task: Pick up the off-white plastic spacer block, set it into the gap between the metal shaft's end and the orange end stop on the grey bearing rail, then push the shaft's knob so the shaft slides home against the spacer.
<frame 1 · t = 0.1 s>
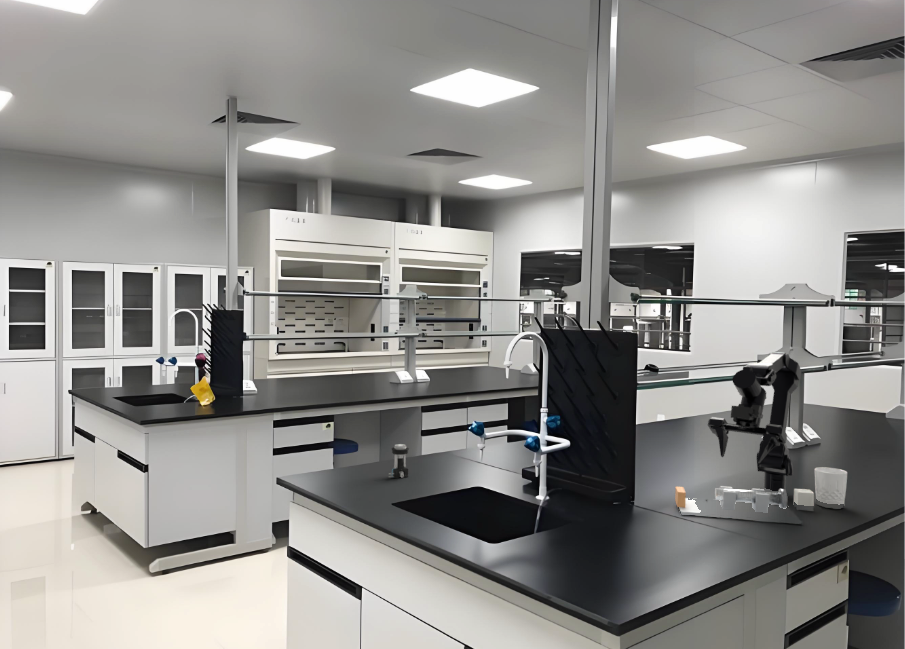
hand: (739, 459, 174), 15 cm above the counter, tool tilted 35°, fingers open, 9 cm apart
white cup: (829, 507, 185), on the counter
spacer: (803, 509, 182), on the counter
shaft: (750, 496, 177), point 5 cm above the counter, slide at 0.0 cm
push button: (397, 477, 209), on the counter
bearing rail: (735, 512, 178), on the counter
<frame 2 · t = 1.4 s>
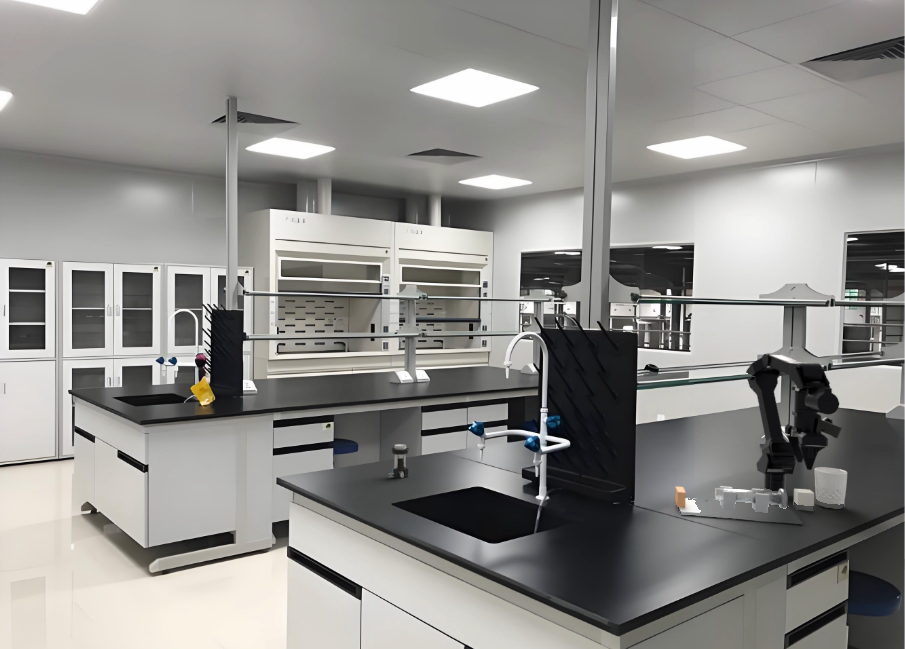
hand: (804, 465, 182), 12 cm above the counter, tool pointing down, fingers open, 9 cm apart
nothing on the counter moved.
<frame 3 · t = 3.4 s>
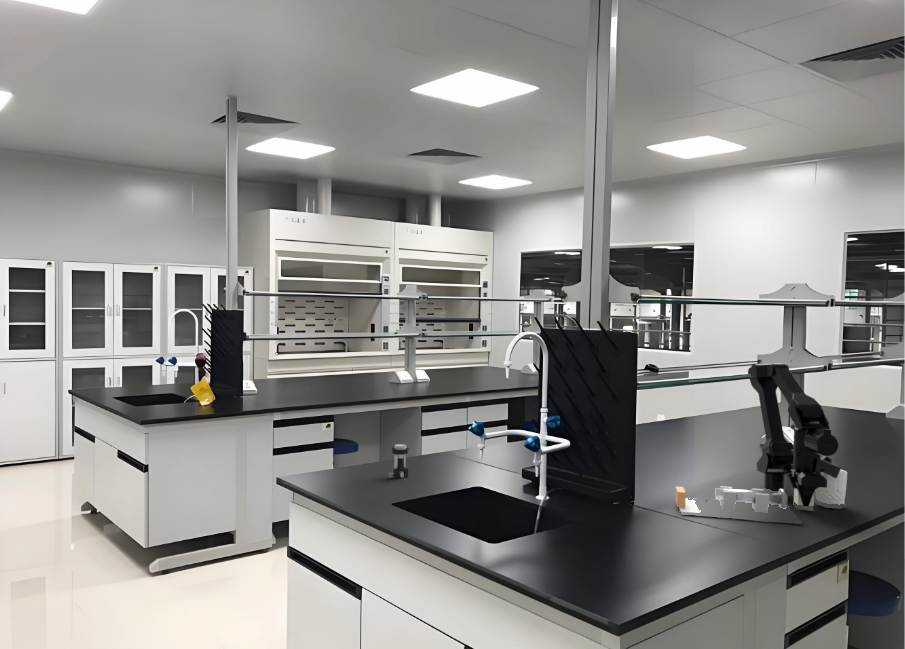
hand: (803, 505, 182), 1 cm above the counter, tool pointing down, fingers closed on spacer, 4 cm apart
spacer: (803, 508, 182), on the counter, touching gripper
everything else where it was.
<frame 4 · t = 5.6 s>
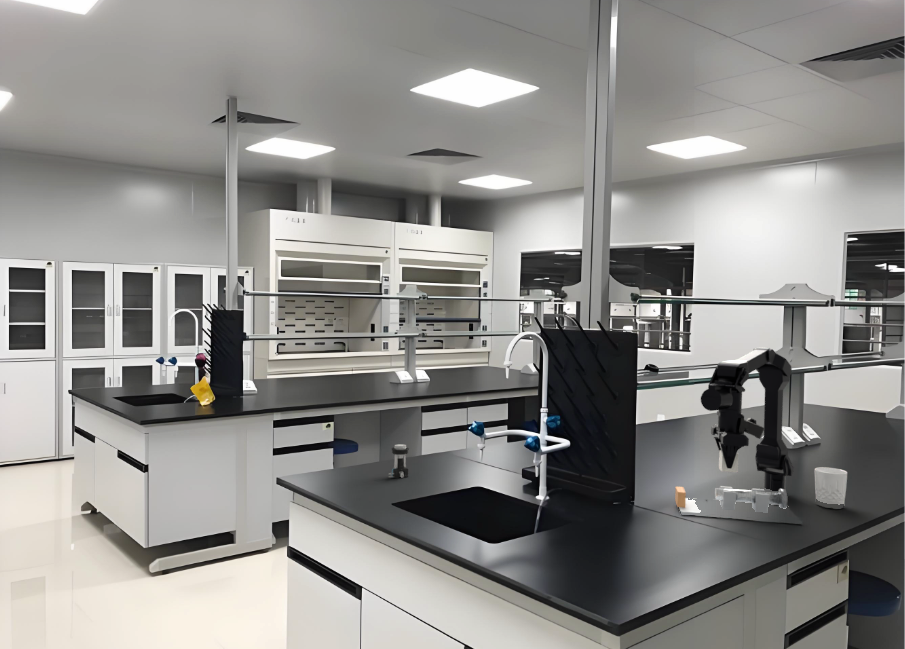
hand: (727, 466, 180), 12 cm above the counter, tool pointing down, fingers closed on spacer, 4 cm apart
spacer: (728, 470, 180), point 11 cm above the counter, touching gripper
everything else where it was.
when the fingers open (4 cm above the counter, at t = 8.1 s): spacer drops 2 cm, resting on bearing rail.
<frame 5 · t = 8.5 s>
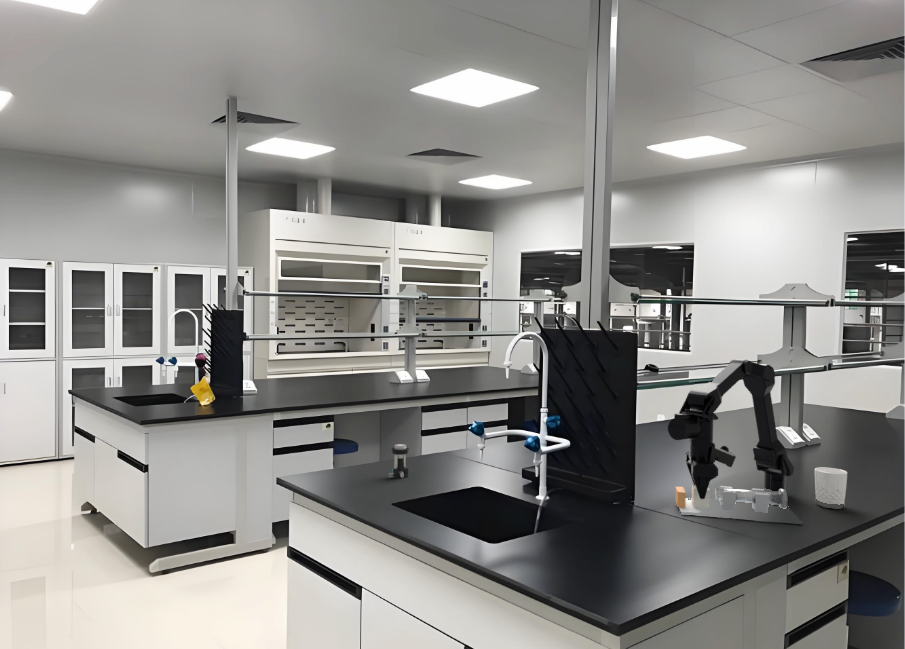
hand: (700, 494, 180), 4 cm above the counter, tool pointing down, fingers open, 8 cm apart
spacer: (700, 505, 180), point 1 cm above the counter, touching bearing rail
everything else where it was.
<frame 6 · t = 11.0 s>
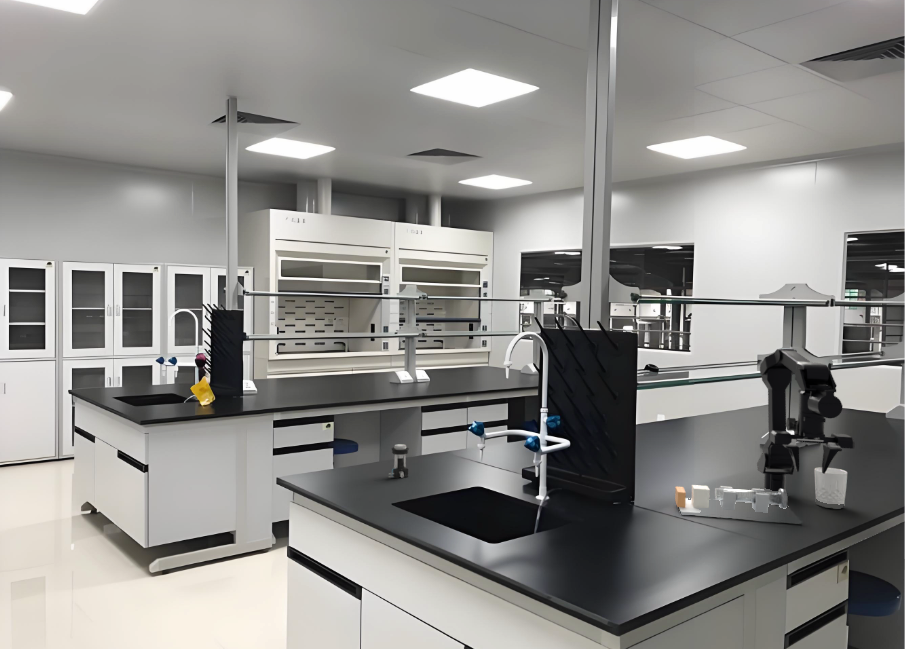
hand: (810, 472, 174), 12 cm above the counter, tool pointing down, fingers open, 6 cm apart
nothing on the counter moved.
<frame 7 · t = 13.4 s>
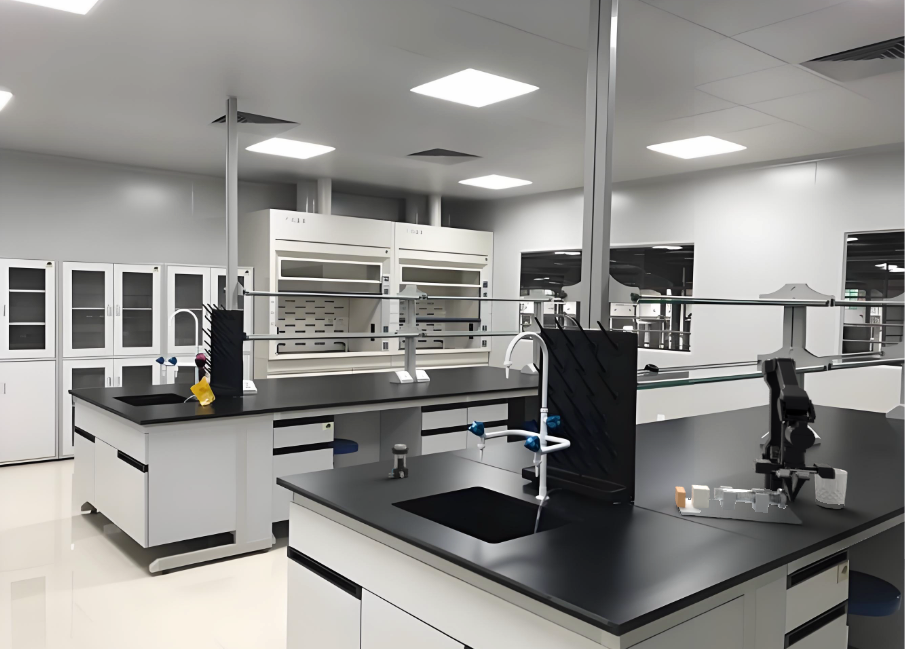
hand: (791, 501, 175), 4 cm above the counter, tool pointing down, fingers closed
shaft: (749, 496, 177), point 5 cm above the counter, slide at 0.3 cm, touching gripper
everything else where it was.
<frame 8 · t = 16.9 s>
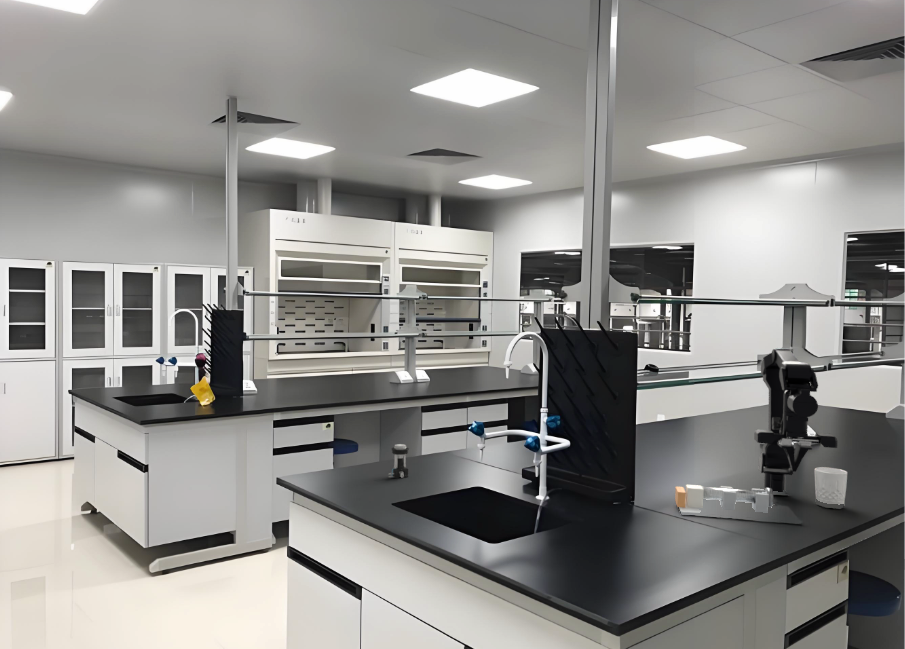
hand: (793, 471, 175), 12 cm above the counter, tool pointing down, fingers closed
spacer: (694, 505, 180), point 1 cm above the counter, touching bearing rail
shaft: (736, 495, 178), point 5 cm above the counter, slide at 3.4 cm, touching bearing rail
everything else where it was.
at the end: shaft slide at 3.4 cm; spacer 0.7 cm from the target spot on the bearing rail, point 1.0 cm above the bearing rail's base; spacer tilted 0° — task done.
